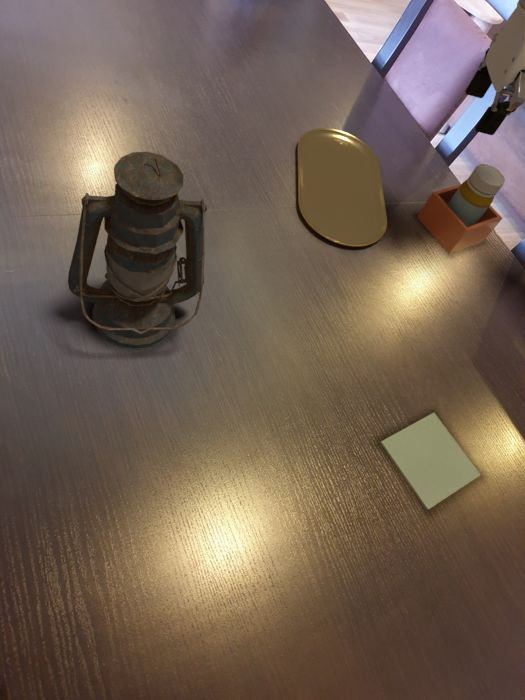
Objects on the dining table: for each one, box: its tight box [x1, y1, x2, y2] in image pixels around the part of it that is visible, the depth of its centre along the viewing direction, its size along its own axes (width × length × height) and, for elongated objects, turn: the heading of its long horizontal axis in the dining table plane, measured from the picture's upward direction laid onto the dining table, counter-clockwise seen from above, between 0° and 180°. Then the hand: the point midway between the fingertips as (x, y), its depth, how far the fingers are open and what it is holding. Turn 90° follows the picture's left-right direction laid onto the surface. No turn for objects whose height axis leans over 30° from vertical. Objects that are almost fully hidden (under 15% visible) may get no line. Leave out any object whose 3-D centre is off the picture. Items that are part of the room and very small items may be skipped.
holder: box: [416, 183, 503, 255], centre depth 118 cm, size 11×11×7 cm
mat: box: [379, 412, 481, 512], centre depth 89 cm, size 12×12×1 cm
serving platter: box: [297, 127, 388, 248], centre depth 118 cm, size 19×35×2 cm, turn 179°
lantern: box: [67, 151, 208, 350], centre depth 77 cm, size 19×14×30 cm
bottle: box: [447, 163, 506, 227], centre depth 114 cm, size 7×7×15 cm
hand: (478, 113), depth 91 cm, fingers open, 9 cm apart
